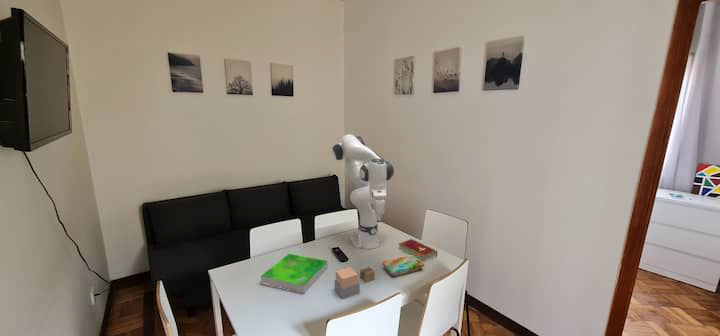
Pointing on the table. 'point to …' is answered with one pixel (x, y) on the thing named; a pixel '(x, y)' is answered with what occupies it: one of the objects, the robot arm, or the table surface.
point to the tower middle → (346, 277)
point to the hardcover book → (417, 249)
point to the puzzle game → (402, 265)
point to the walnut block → (367, 274)
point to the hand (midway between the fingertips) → (378, 216)
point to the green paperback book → (295, 273)
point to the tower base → (347, 290)
